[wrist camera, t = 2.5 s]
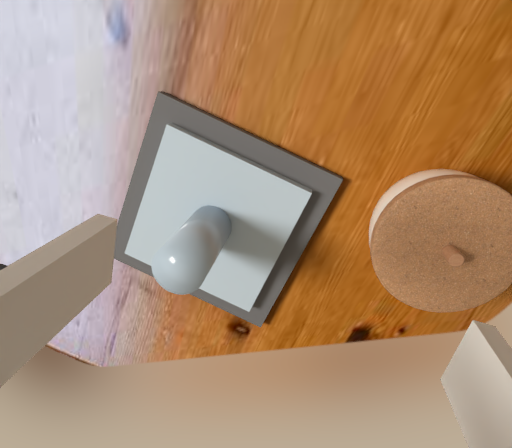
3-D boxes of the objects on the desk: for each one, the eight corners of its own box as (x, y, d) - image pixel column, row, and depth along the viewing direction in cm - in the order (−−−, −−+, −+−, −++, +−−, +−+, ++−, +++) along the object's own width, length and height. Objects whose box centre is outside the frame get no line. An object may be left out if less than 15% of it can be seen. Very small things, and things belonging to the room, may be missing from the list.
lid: (129, 248, 39) (69, 301, 29) (171, 122, 33) (113, 139, 24) (251, 305, 39) (229, 376, 30) (312, 189, 34) (309, 232, 24)
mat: (112, 251, 40) (107, 255, 40) (162, 91, 34) (158, 91, 33) (261, 321, 41) (260, 327, 40) (342, 177, 34) (342, 179, 33)
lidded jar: (475, 268, 35) (527, 330, 26) (357, 265, 37) (370, 322, 28) (496, 154, 31) (564, 182, 22) (363, 157, 33) (379, 184, 24)
